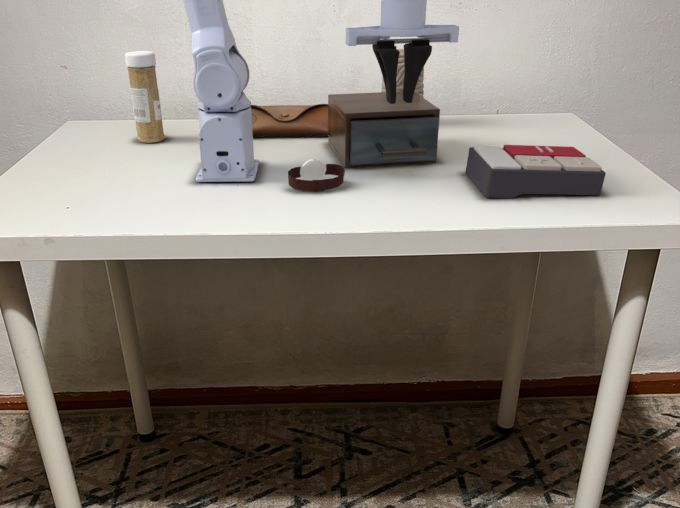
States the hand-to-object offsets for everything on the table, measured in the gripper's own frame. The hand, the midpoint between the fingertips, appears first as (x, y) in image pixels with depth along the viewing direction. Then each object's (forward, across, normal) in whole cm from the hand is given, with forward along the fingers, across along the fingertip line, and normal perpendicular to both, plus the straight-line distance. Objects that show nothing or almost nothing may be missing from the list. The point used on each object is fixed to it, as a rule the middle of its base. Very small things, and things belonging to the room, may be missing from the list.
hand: (399, 101), depth 95 cm
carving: (+10, -8, -27) cm, 30 cm away
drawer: (+8, 0, -5) cm, 10 cm away
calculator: (+10, -16, +10) cm, 21 cm away
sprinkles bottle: (+10, +35, -25) cm, 44 cm away
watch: (+10, +12, +5) cm, 16 cm away
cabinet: (+9, 0, -10) cm, 13 cm away
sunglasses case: (+10, +12, -25) cm, 30 cm away
